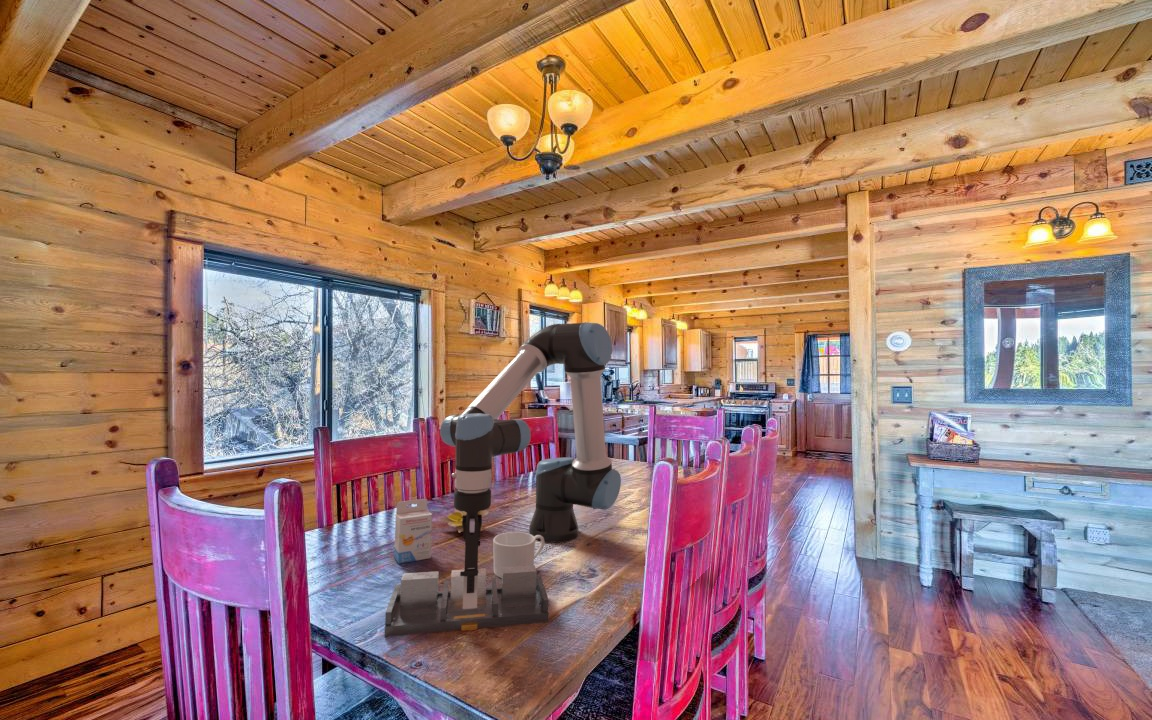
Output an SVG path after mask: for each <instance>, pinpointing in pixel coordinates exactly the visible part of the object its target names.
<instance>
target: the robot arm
mask: <svg viewBox="0 0 1152 720" xmlns="http://www.w3.org/2000/svg"><path fill="white" fill-rule="evenodd" d="M612 354H613V343H612V339H611V336H610V333H609V332H608V330H607V329H606V327H605V326H604V325H602V324H600V323H597V322H586V321H585V322H575V323H555V324H551V325H548V326H546V327H544V328H541V329H540V330H538V331H536V332H535V333H534V334H533V335H531V336H530V337H529V338H528V339H527V340H525V341H524V342H523V344H521V346H519V347H518V350H517V354H516V356H515V357H514V358H513V359H512V360H511V361H510V362H509V363H508V364H507V365H506V366H505V367H504V368H503V369H502V370H501V372H499V374H497V376H496V377H495V378H494V379H493V380H492V381H491V382H490V383H489V384H488V385H487V386H486V387H485V388H484V389H483V391H482V392H481V393H480V394H479V395H478V396H477V397H476V398H475V399H474V400H473V401H472V402H471V403H470V404H469V405H468V406H467V408H465V409H464V411H462V412H461V413H460V414H454V415H449V416H447V417H445V418H444V419H443V421H442V423H441V425H440V428H439V429H440V430H439V435H440V438H441V441H442V442H443V443H445V445H447V446H451V447H455V449H454V450H455V451H454V452H455V457H454V461H455V463H454V464H455V467H454V468H455V469H454V472H453V473H451V477H452V478H455V479H454V488H456V489H455V490H454V491H453V492H454V494H453V507H454V509H456V510H459V511H465V512H466V515H463V519H462V528H463V531H462V541H463V542H464V568H463V570H465V571H464V572H460V576H464V579H463V609H471V608H477V590H478V569H479V566H478V565H479V564H478V563H479V561H478V560H479V547H480V546H481V531H480V529H481V526H482V527H483V523H482V522H483V517H482V515H478V512H479V511H481V510H482V511H483V510H486V509H487V510H488V509H489V508H491V506H492V490H491V487H492V482H493V481H492V480H493V479H492V478H493V474H492V473H493V472H492V471H493V465H492V464H493V457H497V456H498V457H499V456H502V455H510V454H516V453H517V452H521V451H523V450H525V449H527V447H528V446H529V444H530V442H531V436H532V434H531V432H532V431H531V428H530V426H529V425H528V423H527V422H526V421H524V420H522V419H519V418H517V419H516V418H515V419H514V418H509V419H499V418H500V417H501V415H502V414H503V413H504V411H506V409H508V407H509V406H510V405H511V404H512V403H513V402H514V400H516V398H517V397H518V395H520V394H521V392H522V391H523V390H524V389H525V388H526V387H527V385H528V384H529V383H530V382H531V381H532V379H534V377H535V376H536V375H537V374H538V373H543V372H544V371H545V370H546V369H547V368H548V367H549V366H552V365H558V364H559V365H563V366H564V369H563V370H564V373H565V374H566V375H567V376H568V377H569V379H570V387H571V388H570V390H571V402H572V403H571V404H572V415H573V429H574V439H575V441H574V442H575V453H576V458H573V457H552V458H546V459H542V460H540V461H539V462H538V463H537V465H536V472H535V509H534V512H533V516H532V519H531V520H530V524H529V533H528V534H531V535H533V536H536V535H541V536H542V537H543V538H544V543H545V542H547V543H561V542H568V541H571V540H574V539H576V538H577V537H578V536H579V524H578V521H577V517H576V514H575V512H574V505H576V506H580V507H584V508H585V507H586V508H591V509H593V510H602V511H603V510H604V511H605V510H608V509H610V508H611V507H613V506H614V504H615V502H616V501H617V499H618V497H619V493H620V490H621V484H622V483H621V482H622V478H621V477H622V476H621V474H620V472H619V471H618V470H616V469H615V468H614V469H613V465H612V462H613V461H612V459H611V458H609V457H608V456H607V453H606V437H605V422H604V408H603V395H602V393H603V392H602V380H601V378H602V377H601V375H602V374H603V373H604V371H605V370H606V365H607V364H608V363H609V362H610V361H611V359H612ZM536 540H537V541H540V542H541V539H540V538H538V539H536ZM536 540H535V541H536Z"/></svg>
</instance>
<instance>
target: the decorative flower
mask: <svg viewBox="0 0 1152 720" xmlns="http://www.w3.org/2000/svg"><path fill="white" fill-rule="evenodd" d="M489 513H490V512H489V510H488V509H486V510H483V511H482V510H481V511H479V512H478V515H482V518H484V517H486V516H487V515H488V514H489ZM463 515H466V512H465V511H459V510H456V509H455V508H454V512H452V511H451V512H450V513H449V514H448V515H447V516H446V517H442V518H439V519H438V521H439V522H443V523H446V524H447V525H448V526H450V527H453V528H454V527H455V528H456V529H457V531H458V533H461V532H462V533H463V528H462V519H463ZM484 530H485V528H484V527H483V525H482V526H481V529H480V532H482V531H484Z"/></svg>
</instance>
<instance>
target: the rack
mask: <svg viewBox="0 0 1152 720" xmlns="http://www.w3.org/2000/svg"><path fill="white" fill-rule="evenodd" d="M536 568H537V567H536V566H535V565H530V566H514V567H502V578H501V584H500V587H499V586H498V587H497V578H496V577H491V578H490V579H491V580H490V587H486V603H485V609H479V610H466V611H454V612H450V599H451V590H450V580H444V582H443V589H442V591H439V578H440V577H439V575H440V573H439V571H423V572H421V571H420V572H407V573H402V575H401V579H400V583H397V584H395V586H394V588H393V591H392V593H391V597H390V600H389V602H388V605H387V607H386V610H385V621H384V622H385V623H384V635H383V637H394V636H395V637H396V636H405V635H406V636H407V635H416V634H418V635H419V634H428V633H429V634H430V633H438V632H439V633H441V632H450V631H451V632H452V631H462V632H464V631H473V630H475V631H476V630H478V629H484V628H497V627H507V626H518V625H519V626H520V625H529V624H530V625H531V624H541V623H549V620H550V619H549V616H550V615H549V614H550V613H549V597H548V593H547V590H546V588H545V584H544V581H543V578H542V576H541V575H542V574H537V569H536Z"/></svg>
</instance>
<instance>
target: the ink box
mask: <svg viewBox="0 0 1152 720" xmlns="http://www.w3.org/2000/svg"><path fill="white" fill-rule="evenodd" d="M412 504H413V505H416V506H411V505H412ZM408 506H409V507H408ZM395 512H396V513H395V526H394V551H393V552H394V553H393V555H394V556H393V558H394V560H395V561H396V562H397V564H398V565H400V564H404V563H411V562H416V561H422V560H426V559H431V558H432V555H431V554H432V534H433V533H432V532H433V530H432V529H433V513H432V512H431V511H429V510H428V499H427V498H422V499H421V498H420V499H412V500H410V499H409V500H404V501H398V502H396V511H395Z"/></svg>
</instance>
